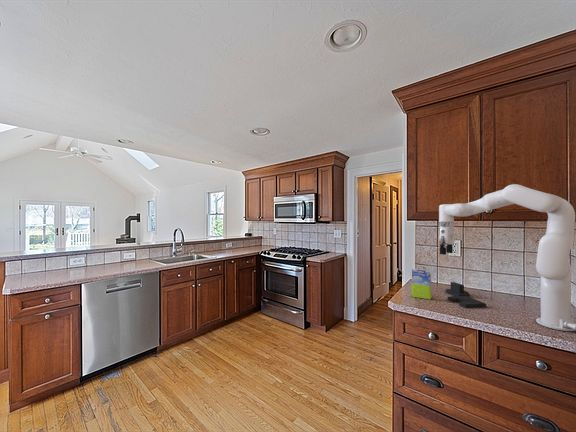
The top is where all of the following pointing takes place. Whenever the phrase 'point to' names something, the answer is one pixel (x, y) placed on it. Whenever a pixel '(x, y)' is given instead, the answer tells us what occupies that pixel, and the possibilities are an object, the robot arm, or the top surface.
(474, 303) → the base pad
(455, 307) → the top surface
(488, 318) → the top surface
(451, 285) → the pad
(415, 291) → the box
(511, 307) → the top surface
